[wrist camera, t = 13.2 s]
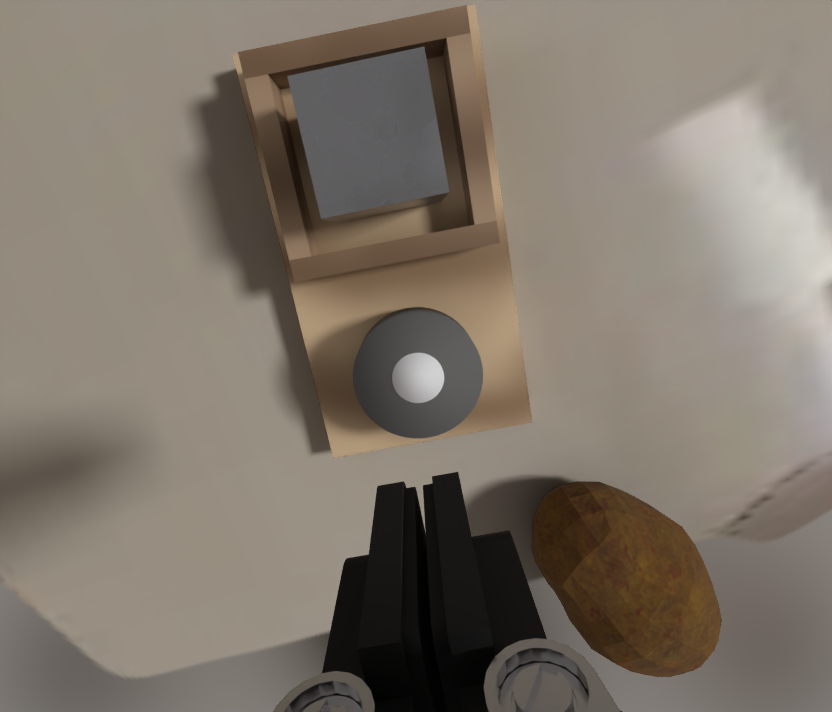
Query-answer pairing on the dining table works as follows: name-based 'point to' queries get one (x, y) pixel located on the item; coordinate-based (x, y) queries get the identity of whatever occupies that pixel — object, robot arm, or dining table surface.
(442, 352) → the wheel
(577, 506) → the potato
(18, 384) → the dining table surface
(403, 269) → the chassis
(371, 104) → the grey stone cube
